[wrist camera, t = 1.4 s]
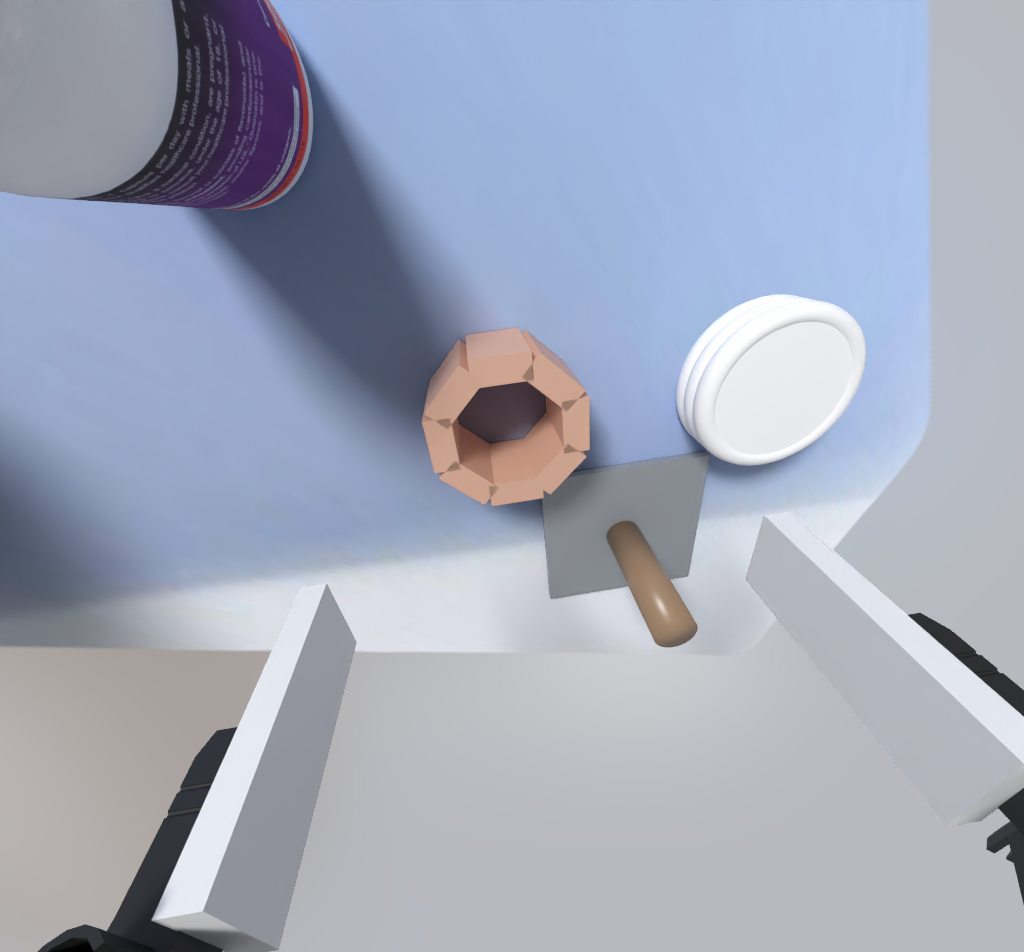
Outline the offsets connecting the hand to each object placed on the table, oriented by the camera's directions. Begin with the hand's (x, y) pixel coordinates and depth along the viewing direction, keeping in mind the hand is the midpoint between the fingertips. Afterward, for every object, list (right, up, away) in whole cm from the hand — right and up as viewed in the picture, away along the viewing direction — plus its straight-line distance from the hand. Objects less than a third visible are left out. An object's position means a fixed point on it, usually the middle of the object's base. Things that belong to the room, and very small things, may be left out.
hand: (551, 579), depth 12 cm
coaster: (+14, +10, +14) cm, 22 cm away
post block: (+7, -1, +19) cm, 21 cm away
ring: (-2, +8, +13) cm, 15 cm away
